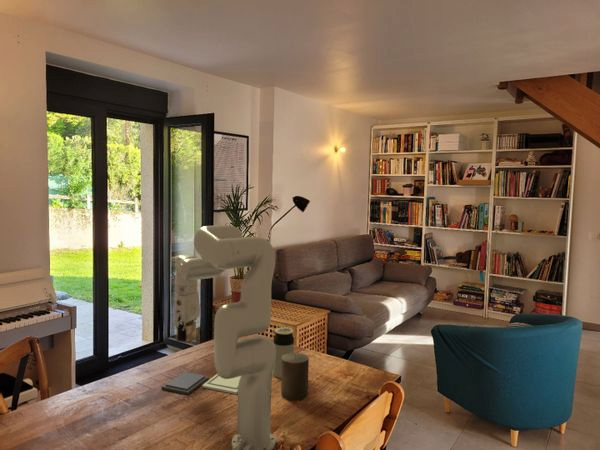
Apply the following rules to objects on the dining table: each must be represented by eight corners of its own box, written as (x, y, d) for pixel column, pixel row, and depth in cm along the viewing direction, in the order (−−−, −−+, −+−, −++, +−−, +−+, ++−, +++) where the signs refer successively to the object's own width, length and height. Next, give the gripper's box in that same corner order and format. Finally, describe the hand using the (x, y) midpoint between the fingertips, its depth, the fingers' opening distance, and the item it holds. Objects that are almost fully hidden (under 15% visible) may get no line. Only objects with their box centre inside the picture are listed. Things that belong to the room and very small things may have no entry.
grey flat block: (187, 394, 163) (187, 390, 163) (161, 389, 167) (161, 385, 167) (208, 379, 176) (208, 375, 176) (183, 374, 180) (183, 370, 180)
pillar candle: (305, 402, 160) (306, 360, 159) (277, 398, 162) (278, 357, 160) (310, 390, 169) (311, 350, 168) (284, 387, 171) (285, 347, 170)
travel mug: (297, 375, 182) (298, 330, 180) (281, 380, 177) (283, 335, 175) (283, 368, 188) (285, 325, 186) (268, 374, 182) (269, 329, 181)
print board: (236, 394, 164) (236, 391, 164) (202, 387, 169) (202, 384, 169) (255, 376, 180) (255, 374, 179) (223, 370, 184) (223, 368, 184)
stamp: (188, 343, 166) (188, 321, 165) (176, 340, 168) (176, 319, 167) (195, 338, 171) (196, 317, 170) (184, 336, 172) (184, 315, 171)
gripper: (182, 295, 158) (181, 347, 160) (208, 285, 174) (207, 332, 176) (163, 293, 160) (163, 343, 162) (190, 283, 176) (190, 329, 178)
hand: (186, 337), depth 169 cm, fingers closed on stamp, 5 cm apart
